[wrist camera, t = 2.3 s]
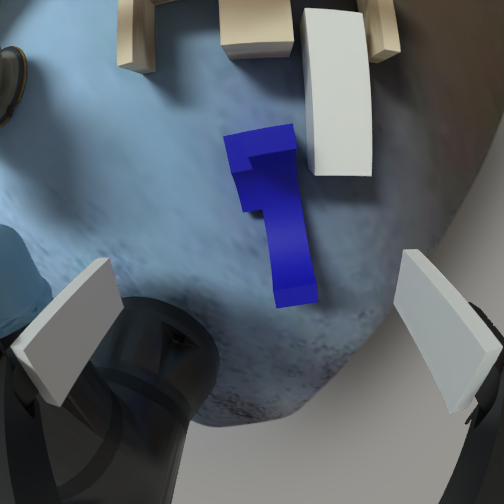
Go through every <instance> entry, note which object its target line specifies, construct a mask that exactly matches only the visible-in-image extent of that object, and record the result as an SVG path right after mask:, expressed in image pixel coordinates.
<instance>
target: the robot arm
mask: <svg viewBox="0 0 504 504" xmlns="http://www.w3.org/2000/svg"><path fill="white" fill-rule="evenodd" d="M393 304H394V305H395V307H396V309H397V311H398V312H399V314H400V316H401V318H402V319H403V321H404V323H405V325H406V326H407V328H408V330H409V332H410V334H411V336H412V337H413V339H414V341H415V343H416V345H417V347H418V349H419V351H420V352H421V354H422V356H423V358H424V360H425V362H426V364H427V366H428V368H429V370H430V372H431V374H432V376H433V378H434V380H435V382H436V385H437V387H438V389H439V391H440V393H441V395H442V398H443V400H444V402H445V404H446V406H447V409H448V411H449V413H450V414H451V413H454V412H457V411H460V410H463V409H466V408H467V407H468V406H469V404H470V403H471V402H472V400H473V398H474V397H476V399H477V401H478V405H477V406H476V408H475V409H474V410H473V412H472V413H471V415H470V416H469V417H468V419H467V420H466V422H465V424H468V423H469V421H470V420H471V419H472V420H471V423H470V427H469V430H468V433H467V436H466V439H465V442H464V446H463V448H462V451H461V453H460V456H459V459H458V461H457V464H456V466H455V469H454V471H453V474H452V476H451V478H450V480H449V483H448V485H447V487H446V489H445V491H444V494H443V496H442V498H441V500H440V502H439V504H504V337H503V336H502V335H501V333H500V332H499V331H498V329H497V328H496V327H495V326H493V323H492V322H491V321H490V320H489V319H488V318H487V316H486V315H485V314H484V313H483V311H482V310H481V309H480V308H478V307H477V306H475V305H474V304H472V303H471V302H467V301H466V300H465V299H464V298H463V297H462V296H461V294H460V293H459V292H458V291H457V290H456V289H455V288H454V287H453V285H452V284H451V283H450V282H449V281H448V280H447V279H446V278H445V277H444V276H443V275H442V274H441V272H439V270H438V269H437V268H436V267H435V266H434V265H433V264H432V263H431V262H430V261H429V260H428V259H427V258H426V257H425V256H424V255H423V254H422V253H421V252H420V251H419V250H418V249H411V250H403V254H402V261H401V266H400V272H399V278H398V283H397V288H396V293H395V297H394V302H393ZM218 369H219V354H218V350H217V348H216V345H215V343H214V341H213V340H212V338H211V336H210V335H209V334H208V332H207V331H206V330H205V329H204V328H203V327H202V326H201V325H200V324H199V323H198V322H197V321H196V320H195V319H193V318H192V317H191V316H189V315H188V314H186V313H185V312H183V311H182V310H180V309H178V308H176V307H174V306H172V305H170V304H167V303H165V302H162V301H159V300H155V299H151V298H146V297H125V298H121V296H120V293H119V290H118V286H117V283H116V280H115V276H114V272H113V269H112V265H111V261H110V258H96V259H95V260H94V261H93V262H92V263H91V264H90V265H89V266H88V267H87V268H85V269H84V270H83V271H82V272H81V273H80V274H79V275H78V276H77V277H76V278H75V279H74V280H73V281H72V282H71V283H70V284H69V285H68V286H67V287H66V288H64V289H63V290H62V291H61V292H60V293H59V294H58V295H57V296H56V297H55V298H54V299H53V298H52V290H51V287H50V285H49V284H48V282H47V281H46V280H45V279H44V278H43V277H41V275H40V273H39V271H38V270H37V268H36V266H35V264H34V262H33V260H32V258H31V256H30V254H29V251H28V249H27V247H26V245H25V243H24V241H23V239H22V238H21V236H20V235H19V234H18V233H17V232H16V231H15V230H14V229H13V228H11V227H9V226H6V225H2V224H0V504H171V502H172V498H173V493H174V488H175V484H176V479H177V474H178V470H179V465H180V461H181V456H182V452H183V448H184V443H185V438H186V434H187V429H188V426H189V422H190V420H191V419H192V418H193V416H194V415H195V414H196V412H197V411H198V409H199V408H200V407H201V405H202V404H203V402H204V401H205V400H206V398H207V397H208V395H209V394H210V392H211V391H212V389H213V387H214V385H215V383H216V379H217V374H218Z"/></svg>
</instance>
